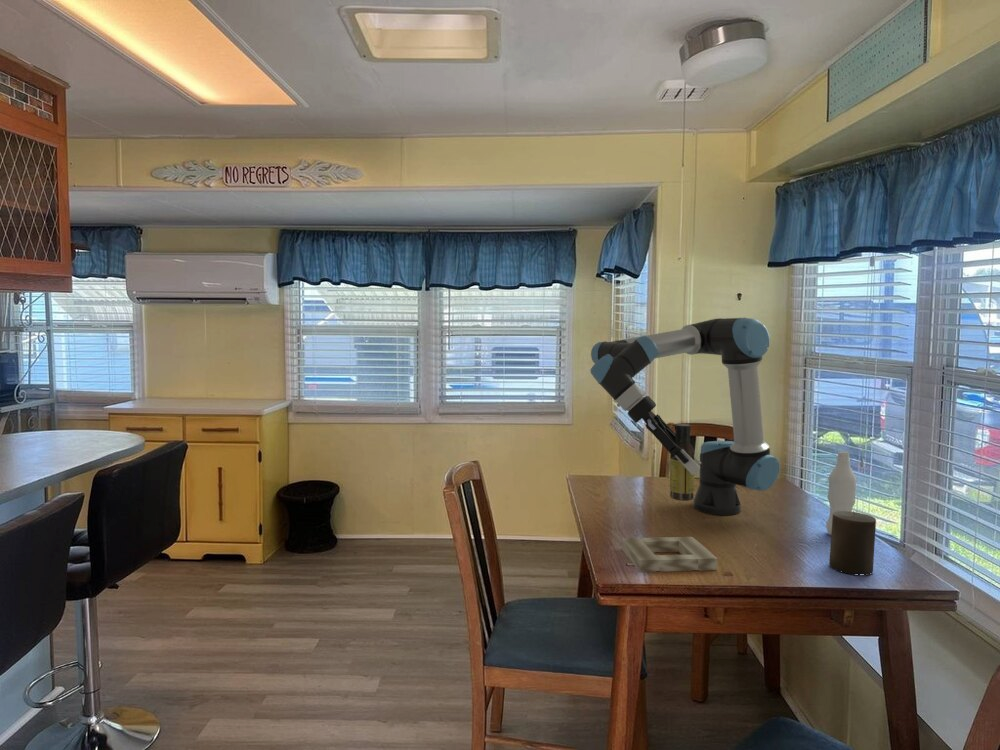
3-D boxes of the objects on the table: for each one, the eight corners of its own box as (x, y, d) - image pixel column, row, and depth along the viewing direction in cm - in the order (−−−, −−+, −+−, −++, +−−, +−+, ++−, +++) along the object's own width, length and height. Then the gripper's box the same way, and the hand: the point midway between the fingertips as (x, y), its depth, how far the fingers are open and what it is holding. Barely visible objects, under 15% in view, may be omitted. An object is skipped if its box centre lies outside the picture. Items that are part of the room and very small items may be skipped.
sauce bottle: (690, 495, 165) (693, 423, 164) (696, 502, 159) (699, 426, 158) (666, 494, 166) (669, 422, 164) (671, 501, 159) (674, 425, 158)
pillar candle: (857, 578, 149) (861, 518, 148) (820, 564, 157) (824, 508, 156) (881, 572, 153) (885, 514, 152) (844, 559, 162) (847, 503, 161)
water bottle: (850, 533, 182) (854, 450, 180) (855, 540, 176) (860, 455, 174) (823, 530, 185) (827, 449, 183) (828, 537, 178) (832, 453, 176)
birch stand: (691, 547, 169) (692, 536, 169) (717, 570, 153) (717, 558, 153) (621, 548, 167) (621, 538, 167) (639, 571, 152) (639, 560, 151)
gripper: (631, 408, 175) (688, 470, 170) (620, 416, 157) (683, 485, 152) (650, 391, 173) (708, 453, 168) (642, 397, 155) (706, 467, 150)
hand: (696, 468), depth 160 cm, fingers closed on sauce bottle, 6 cm apart
